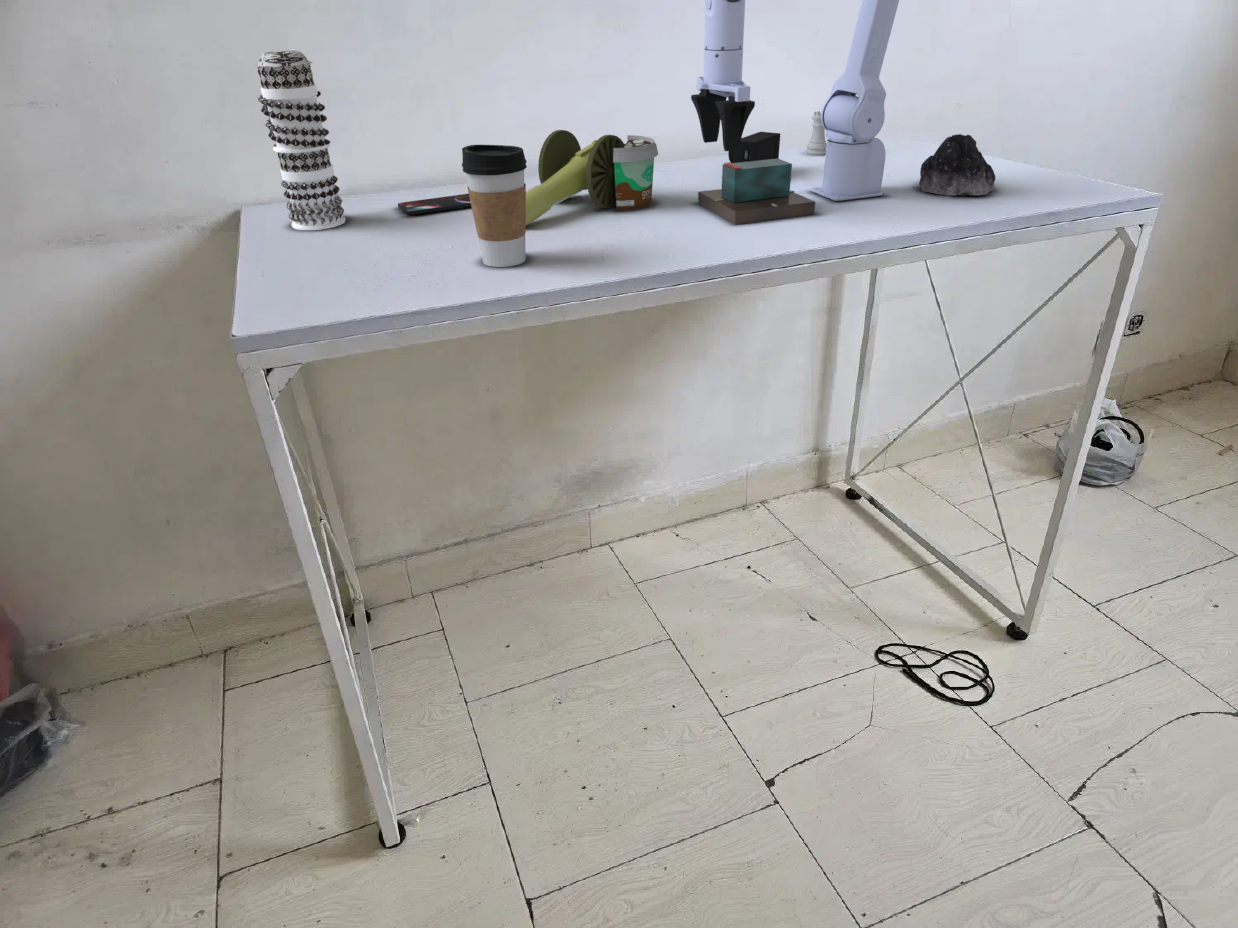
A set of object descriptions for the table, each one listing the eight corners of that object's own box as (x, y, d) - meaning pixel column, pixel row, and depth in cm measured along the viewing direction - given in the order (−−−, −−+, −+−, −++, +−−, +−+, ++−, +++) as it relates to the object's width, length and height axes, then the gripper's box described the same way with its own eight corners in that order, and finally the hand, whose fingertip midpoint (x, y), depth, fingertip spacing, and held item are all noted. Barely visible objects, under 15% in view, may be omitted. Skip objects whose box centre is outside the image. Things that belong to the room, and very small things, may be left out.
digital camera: (752, 168, 157) (754, 130, 154) (777, 171, 155) (780, 132, 151) (726, 179, 150) (728, 139, 147) (752, 182, 148) (754, 142, 144)
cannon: (543, 234, 122) (537, 156, 116) (486, 224, 128) (478, 149, 122) (636, 199, 139) (635, 129, 133) (582, 191, 145) (579, 124, 139)
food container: (651, 214, 131) (651, 149, 125) (614, 213, 132) (612, 148, 127) (663, 195, 141) (663, 135, 136) (629, 194, 142) (628, 134, 137)
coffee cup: (476, 253, 115) (462, 142, 108) (534, 250, 116) (525, 139, 108) (471, 272, 108) (456, 155, 100) (534, 268, 109) (524, 152, 101)
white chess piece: (805, 155, 166) (809, 114, 162) (805, 151, 170) (808, 110, 166) (827, 155, 166) (832, 114, 161) (826, 151, 169) (831, 110, 165)
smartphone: (493, 200, 138) (406, 212, 133) (493, 204, 139) (407, 216, 133) (479, 191, 144) (396, 203, 138) (479, 195, 144) (396, 206, 139)
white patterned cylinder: (287, 220, 134) (246, 52, 120) (344, 213, 137) (310, 48, 123) (291, 234, 126) (248, 57, 113) (351, 226, 129) (316, 52, 116)
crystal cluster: (962, 181, 147) (966, 123, 142) (1016, 191, 135) (1022, 127, 130) (898, 195, 144) (900, 136, 139) (948, 206, 132) (952, 142, 128)
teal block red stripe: (775, 190, 134) (778, 157, 131) (789, 196, 130) (792, 162, 128) (721, 196, 131) (722, 162, 129) (733, 202, 128) (735, 168, 125)
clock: (772, 194, 140) (773, 182, 138) (815, 214, 128) (816, 200, 127) (697, 203, 136) (697, 190, 135) (734, 224, 124) (735, 210, 123)
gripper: (679, 47, 124) (679, 140, 131) (720, 54, 112) (716, 157, 119) (721, 44, 125) (718, 136, 133) (765, 51, 114) (759, 152, 121)
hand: (720, 146), depth 126 cm, fingers open, 7 cm apart
